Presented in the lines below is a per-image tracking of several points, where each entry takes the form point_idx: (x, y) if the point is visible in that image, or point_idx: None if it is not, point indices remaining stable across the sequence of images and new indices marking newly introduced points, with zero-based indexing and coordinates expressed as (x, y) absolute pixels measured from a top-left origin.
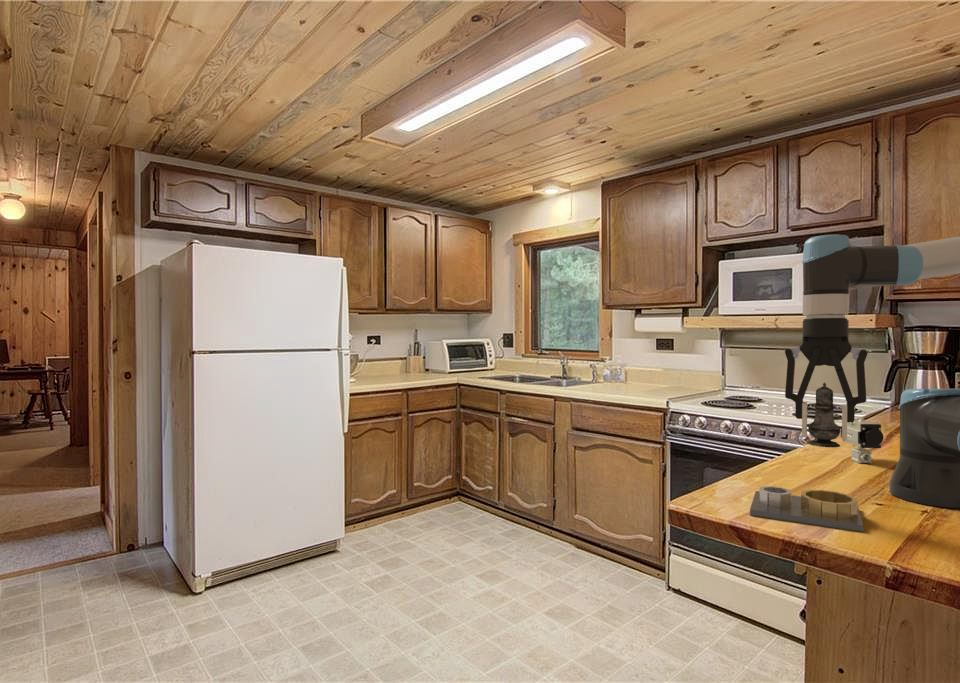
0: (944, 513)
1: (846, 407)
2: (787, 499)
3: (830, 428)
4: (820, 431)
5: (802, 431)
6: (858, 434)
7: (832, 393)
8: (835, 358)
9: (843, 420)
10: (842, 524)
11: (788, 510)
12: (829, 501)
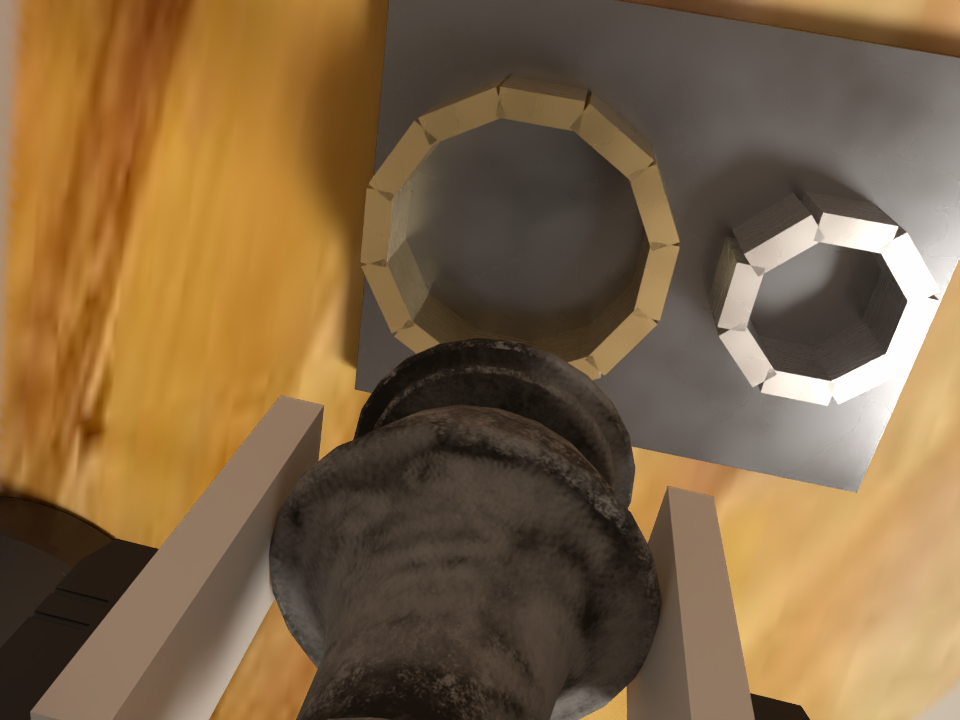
0: (20, 423)
1: (60, 690)
2: (760, 230)
3: (414, 432)
4: (534, 440)
5: (715, 535)
6: None
7: None
8: None
9: (214, 543)
10: None
11: (771, 131)
12: None
